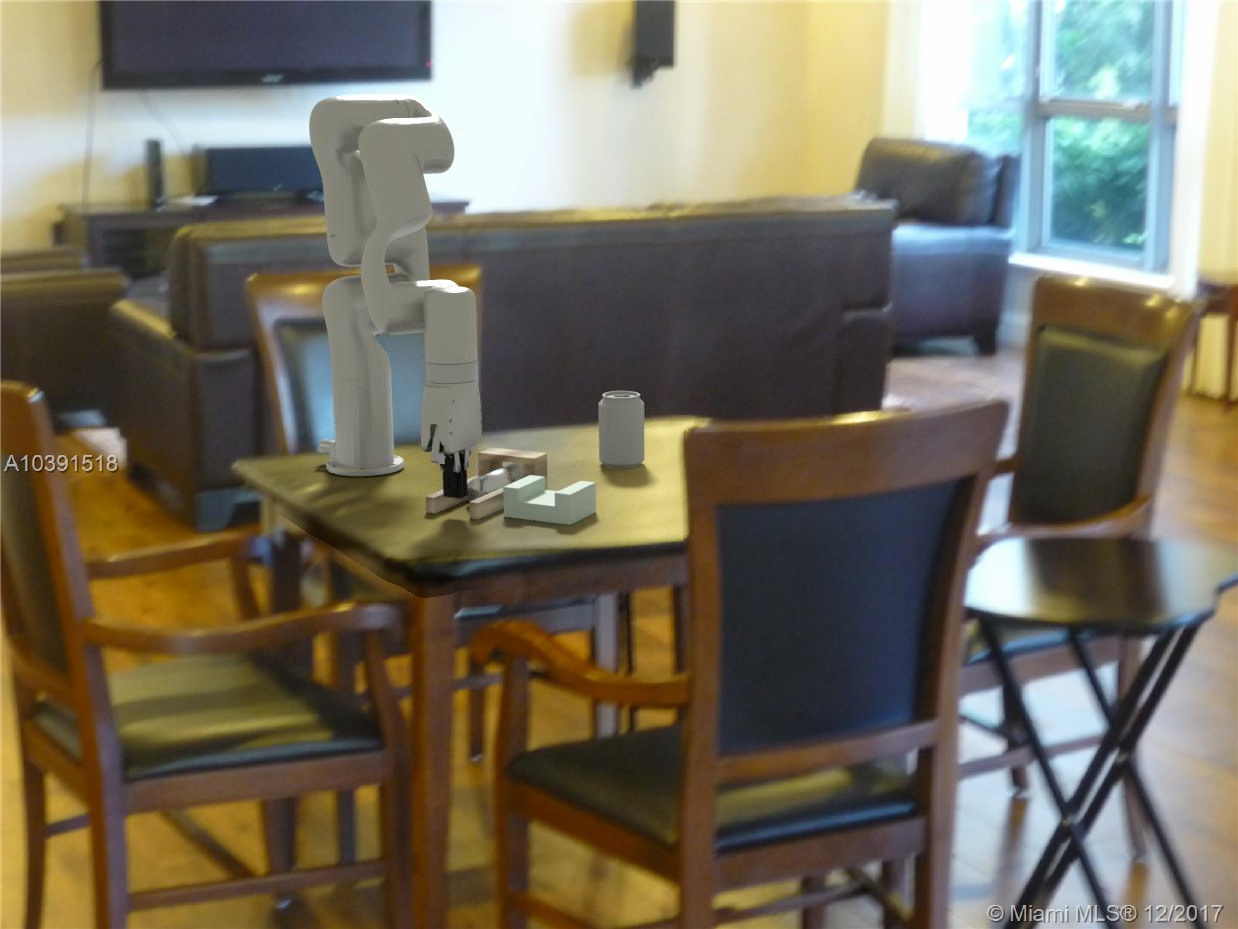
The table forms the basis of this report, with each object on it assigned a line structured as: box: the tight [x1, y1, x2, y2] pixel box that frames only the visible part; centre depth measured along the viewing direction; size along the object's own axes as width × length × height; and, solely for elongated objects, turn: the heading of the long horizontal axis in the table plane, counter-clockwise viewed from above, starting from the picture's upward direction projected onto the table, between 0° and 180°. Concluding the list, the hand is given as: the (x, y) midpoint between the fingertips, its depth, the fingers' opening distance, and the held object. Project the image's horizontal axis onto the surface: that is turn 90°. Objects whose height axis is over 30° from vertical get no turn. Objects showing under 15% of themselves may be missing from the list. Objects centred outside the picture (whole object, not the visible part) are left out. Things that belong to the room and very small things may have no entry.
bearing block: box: [425, 447, 549, 520], centre depth 258 cm, size 10×20×6 cm, turn 154°
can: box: [598, 390, 645, 470], centre depth 280 cm, size 8×8×12 cm
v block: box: [503, 475, 597, 526], centre depth 251 cm, size 11×8×4 cm
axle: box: [467, 462, 523, 502], centre depth 261 cm, size 12×4×4 cm, turn 154°
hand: (455, 496), depth 251 cm, fingers closed
